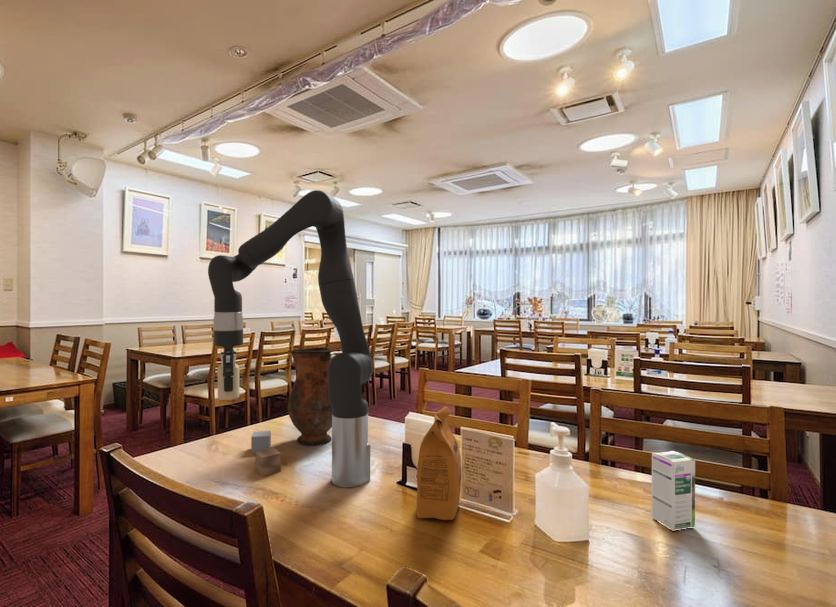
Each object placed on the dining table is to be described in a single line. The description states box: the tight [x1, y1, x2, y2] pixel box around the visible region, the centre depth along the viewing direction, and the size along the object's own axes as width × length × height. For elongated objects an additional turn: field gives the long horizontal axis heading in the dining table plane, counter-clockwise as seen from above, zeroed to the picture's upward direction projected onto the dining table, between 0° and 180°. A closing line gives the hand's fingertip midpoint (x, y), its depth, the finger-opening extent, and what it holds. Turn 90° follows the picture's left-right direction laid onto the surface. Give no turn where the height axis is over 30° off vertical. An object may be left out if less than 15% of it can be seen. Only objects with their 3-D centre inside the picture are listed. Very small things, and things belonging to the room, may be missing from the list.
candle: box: [217, 362, 240, 401], centre depth 117 cm, size 6×6×10 cm
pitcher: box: [287, 347, 341, 446], centre depth 137 cm, size 17×21×30 cm
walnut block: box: [255, 447, 282, 477], centre depth 114 cm, size 5×5×5 cm
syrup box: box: [651, 450, 696, 530], centre depth 89 cm, size 6×6×14 cm
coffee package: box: [415, 406, 462, 521], centre depth 94 cm, size 10×12×22 cm
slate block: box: [250, 430, 272, 454], centre depth 129 cm, size 5×5×5 cm
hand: (228, 388), depth 117 cm, fingers closed on candle, 5 cm apart
